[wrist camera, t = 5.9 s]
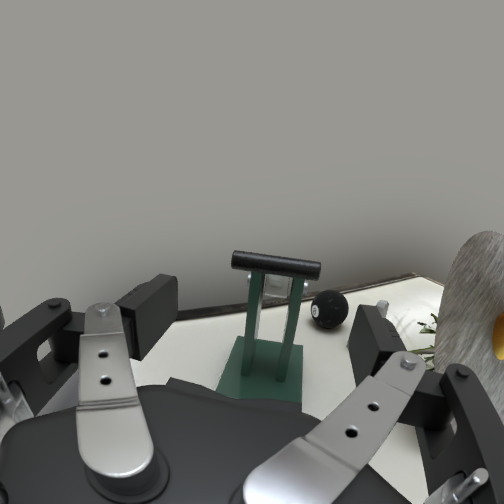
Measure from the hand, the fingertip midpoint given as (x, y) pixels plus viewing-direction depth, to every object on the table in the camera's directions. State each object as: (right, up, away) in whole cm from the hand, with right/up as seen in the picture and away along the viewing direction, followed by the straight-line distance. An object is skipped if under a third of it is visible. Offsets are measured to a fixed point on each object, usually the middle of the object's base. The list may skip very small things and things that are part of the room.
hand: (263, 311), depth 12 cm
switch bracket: (+1, -12, +20) cm, 23 cm away
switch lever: (+1, -1, +11) cm, 11 cm away
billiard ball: (+12, -10, +33) cm, 36 cm away
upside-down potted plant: (+27, -17, +14) cm, 35 cm away
